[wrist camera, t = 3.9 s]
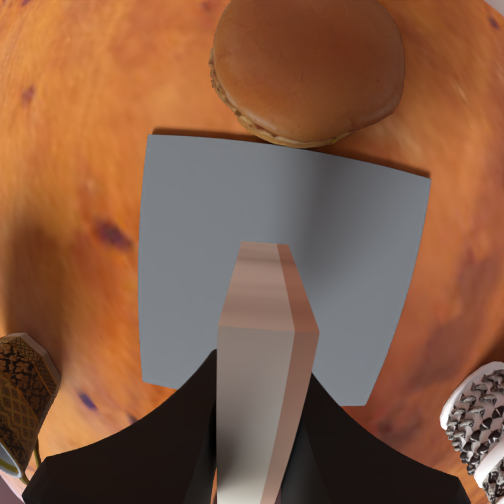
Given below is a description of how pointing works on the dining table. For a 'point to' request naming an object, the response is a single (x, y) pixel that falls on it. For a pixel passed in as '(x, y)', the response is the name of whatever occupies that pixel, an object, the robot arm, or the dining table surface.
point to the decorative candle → (479, 427)
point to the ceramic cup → (23, 400)
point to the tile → (261, 372)
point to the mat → (277, 232)
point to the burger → (307, 67)
